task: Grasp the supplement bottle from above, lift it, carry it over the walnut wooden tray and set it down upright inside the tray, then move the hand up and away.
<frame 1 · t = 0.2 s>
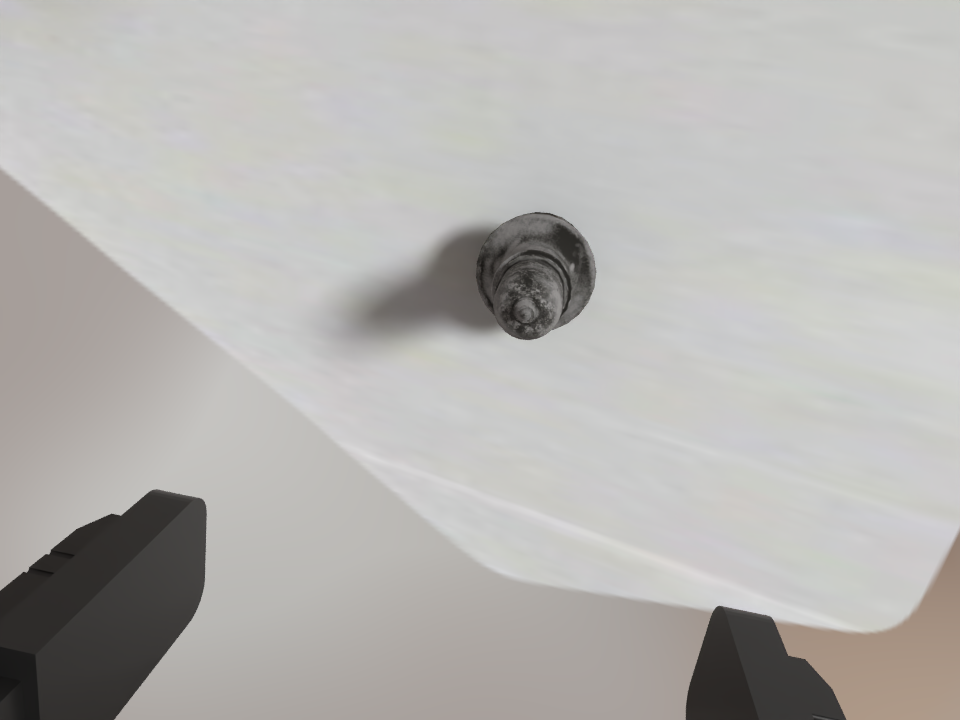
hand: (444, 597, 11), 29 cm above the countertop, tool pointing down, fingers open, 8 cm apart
salt shaker: (538, 261, 38), on the countertop
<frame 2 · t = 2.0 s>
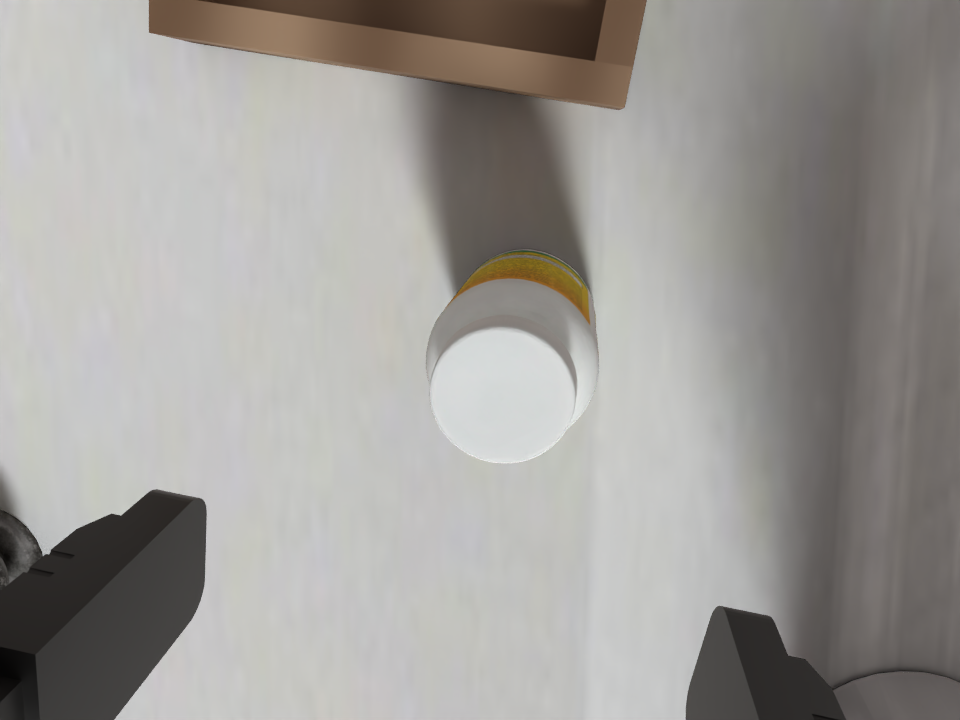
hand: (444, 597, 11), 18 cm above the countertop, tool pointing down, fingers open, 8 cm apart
supplement bottle: (526, 312, 28), on the countertop
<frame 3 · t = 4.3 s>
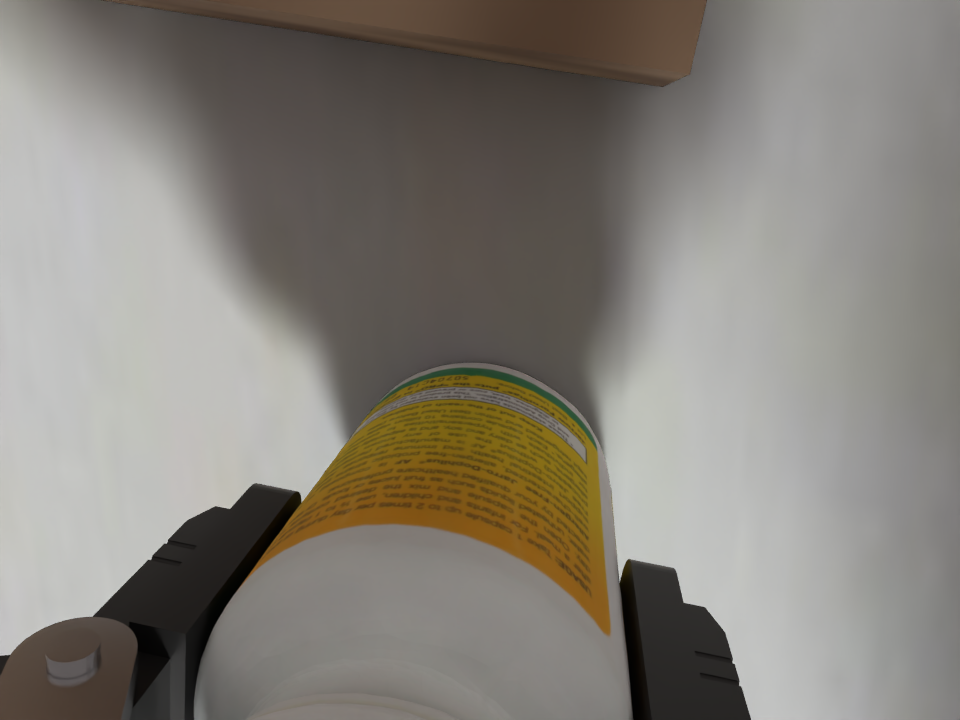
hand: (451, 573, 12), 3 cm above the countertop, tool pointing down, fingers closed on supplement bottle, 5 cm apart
supplement bottle: (480, 470, 15), on the countertop, touching gripper
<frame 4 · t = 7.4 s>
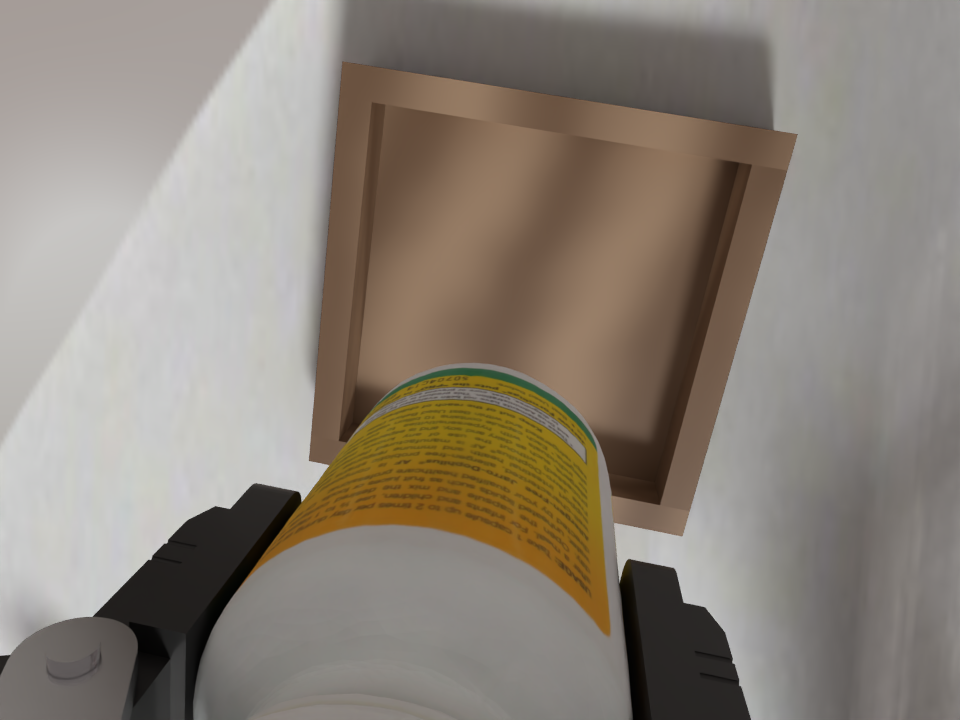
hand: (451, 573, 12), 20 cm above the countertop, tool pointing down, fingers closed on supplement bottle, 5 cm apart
supplement bottle: (480, 470, 15), point 16 cm above the countertop, touching gripper
tray: (529, 299, 30), on the countertop
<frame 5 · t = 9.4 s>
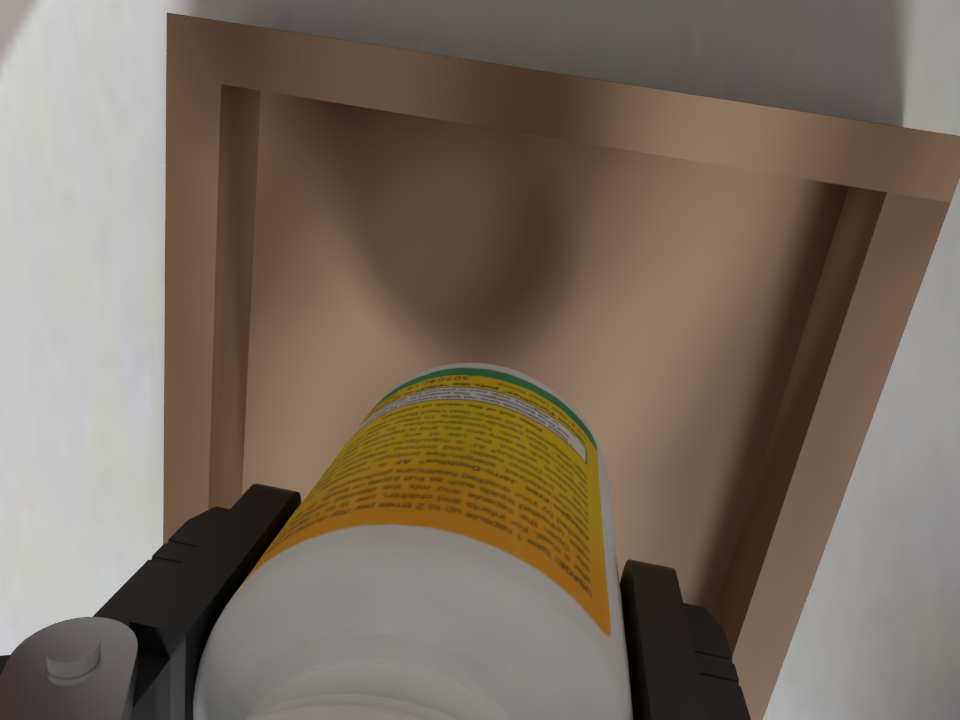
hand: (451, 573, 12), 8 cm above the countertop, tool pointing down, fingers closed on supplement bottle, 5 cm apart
supplement bottle: (480, 470, 15), point 5 cm above the countertop, touching gripper
tray: (502, 393, 19), on the countertop
when the fingers open (5 cm above the countertop, at t = 10.9 s): supplement bottle stays where it is, resting on tray.
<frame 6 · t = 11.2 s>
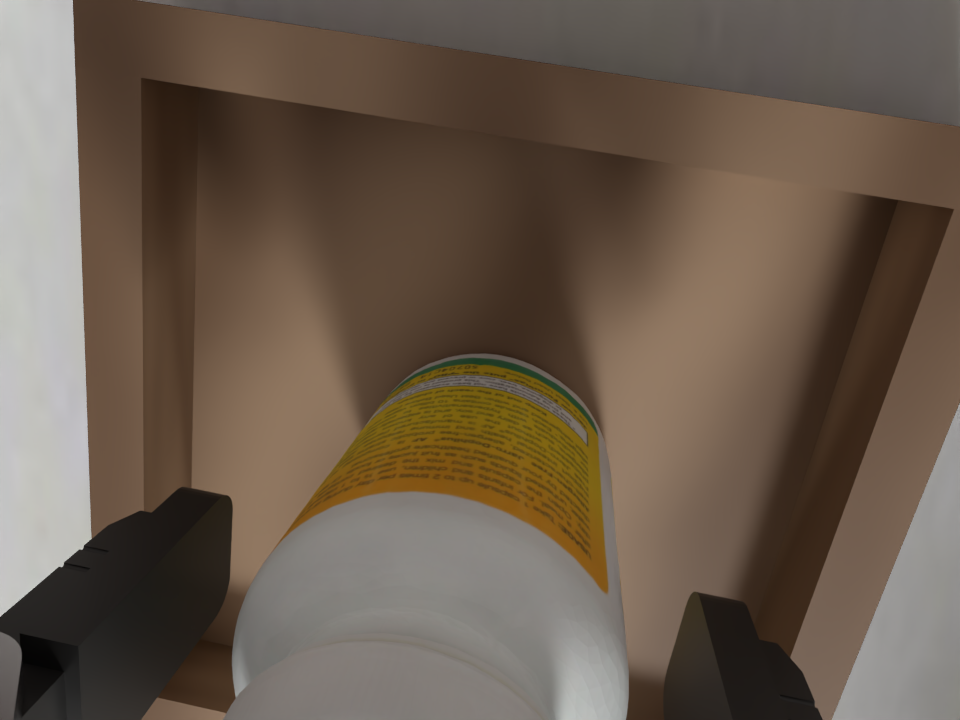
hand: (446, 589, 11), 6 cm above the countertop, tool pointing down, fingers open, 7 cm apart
supplement bottle: (487, 456, 16), point 1 cm above the countertop, touching tray
tray: (488, 436, 17), on the countertop
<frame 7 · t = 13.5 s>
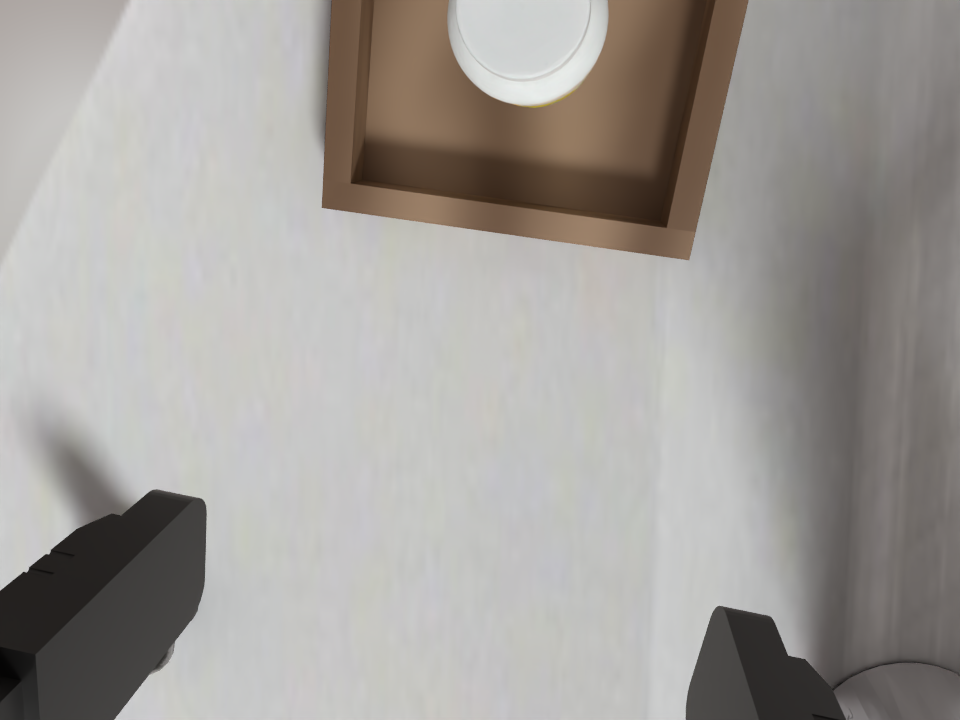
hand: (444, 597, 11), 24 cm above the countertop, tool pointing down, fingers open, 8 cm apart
supplement bottle: (533, 39, 30), point 1 cm above the countertop, touching tray
tray: (532, 38, 31), on the countertop
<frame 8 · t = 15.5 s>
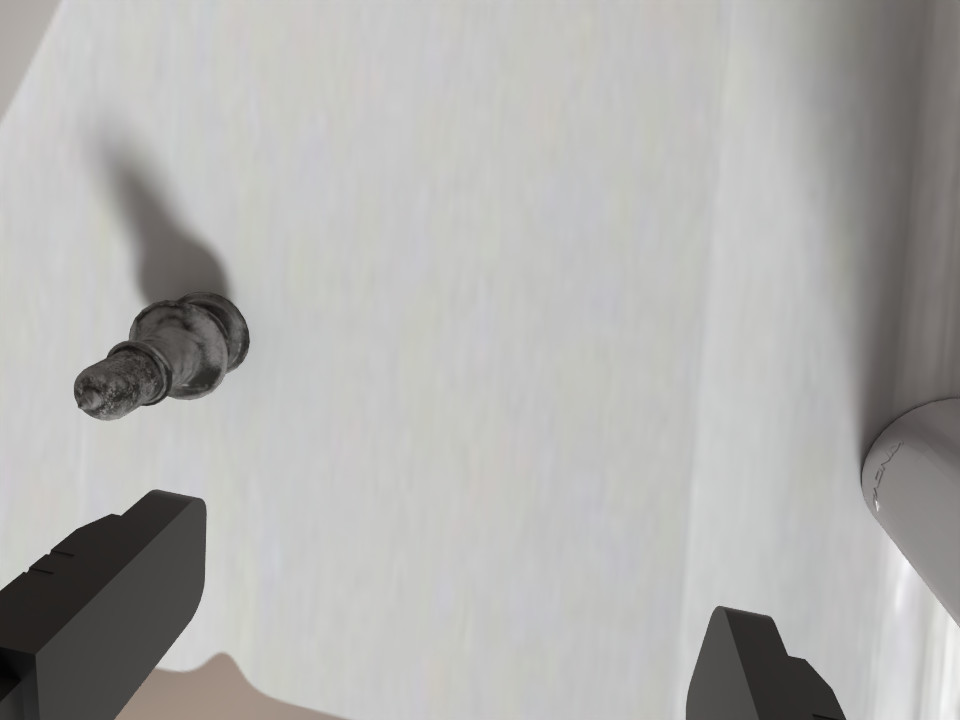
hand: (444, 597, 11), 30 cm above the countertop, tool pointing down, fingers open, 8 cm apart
salt shaker: (209, 333, 44), on the countertop
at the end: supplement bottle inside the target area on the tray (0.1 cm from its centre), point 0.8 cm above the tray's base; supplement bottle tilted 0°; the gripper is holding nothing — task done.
